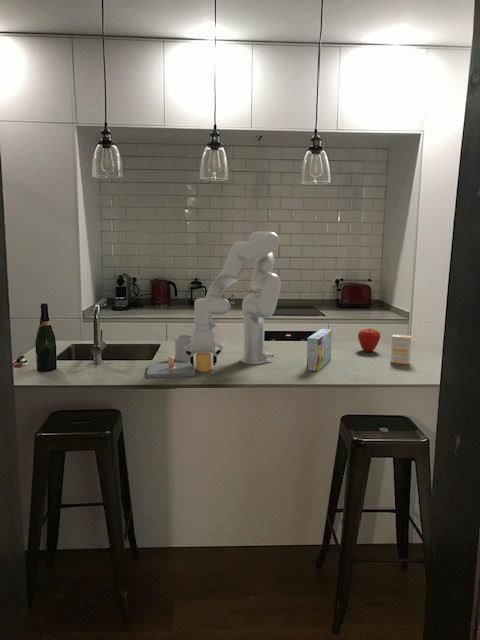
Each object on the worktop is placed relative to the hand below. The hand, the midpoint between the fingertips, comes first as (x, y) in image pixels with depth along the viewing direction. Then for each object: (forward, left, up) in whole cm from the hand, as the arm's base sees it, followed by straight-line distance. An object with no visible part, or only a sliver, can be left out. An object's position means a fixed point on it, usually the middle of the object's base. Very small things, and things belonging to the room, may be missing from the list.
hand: (203, 364), depth 220 cm
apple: (-85, -24, -2) cm, 88 cm away
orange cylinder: (0, 0, -2) cm, 2 cm away
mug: (+8, -18, -2) cm, 20 cm away
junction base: (+14, +2, -2) cm, 14 cm away
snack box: (-53, -2, -2) cm, 53 cm away
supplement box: (-92, -2, -2) cm, 92 cm away
